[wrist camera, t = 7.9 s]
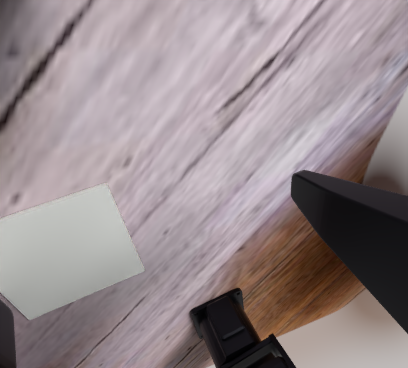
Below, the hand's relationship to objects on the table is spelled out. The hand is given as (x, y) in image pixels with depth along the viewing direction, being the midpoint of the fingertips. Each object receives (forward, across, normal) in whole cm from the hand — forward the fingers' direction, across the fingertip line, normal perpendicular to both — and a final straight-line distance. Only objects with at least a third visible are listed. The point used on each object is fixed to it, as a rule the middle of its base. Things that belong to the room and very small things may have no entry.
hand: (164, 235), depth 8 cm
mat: (+12, +7, +10) cm, 17 cm away
